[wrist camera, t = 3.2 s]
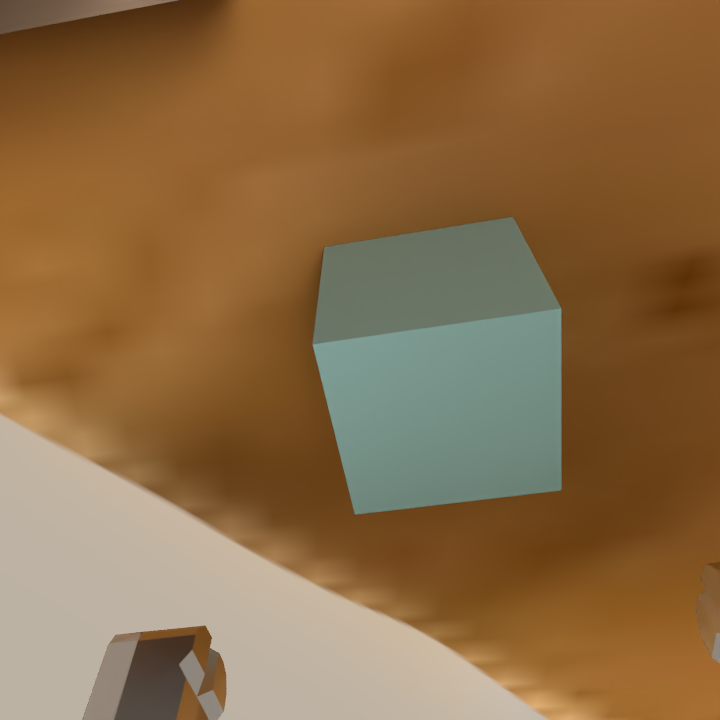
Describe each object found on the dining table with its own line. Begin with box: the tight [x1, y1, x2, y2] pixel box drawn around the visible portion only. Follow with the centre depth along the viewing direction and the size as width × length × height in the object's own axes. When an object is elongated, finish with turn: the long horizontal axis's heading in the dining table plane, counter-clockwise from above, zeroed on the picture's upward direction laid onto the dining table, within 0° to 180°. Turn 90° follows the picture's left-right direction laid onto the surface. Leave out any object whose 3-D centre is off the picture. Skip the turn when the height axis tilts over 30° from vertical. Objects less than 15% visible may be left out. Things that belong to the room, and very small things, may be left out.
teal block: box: [313, 217, 562, 515], centre depth 16 cm, size 5×5×5 cm
